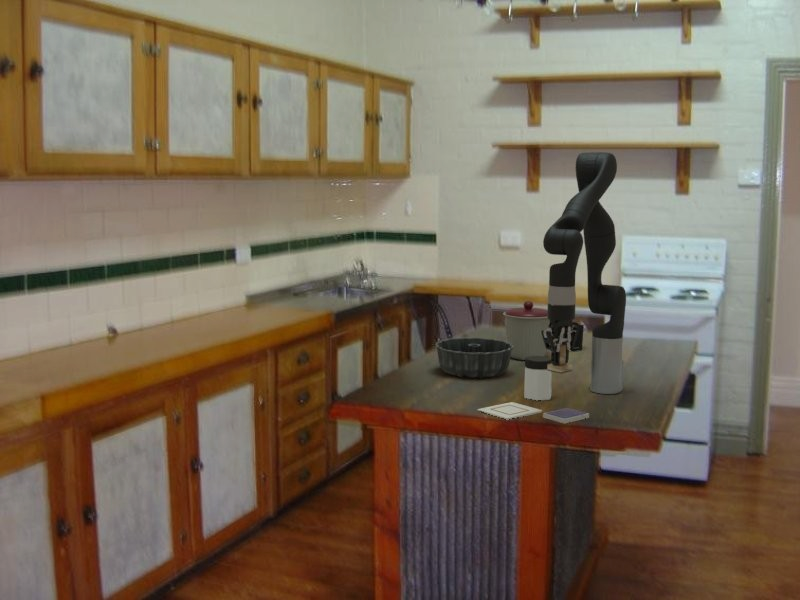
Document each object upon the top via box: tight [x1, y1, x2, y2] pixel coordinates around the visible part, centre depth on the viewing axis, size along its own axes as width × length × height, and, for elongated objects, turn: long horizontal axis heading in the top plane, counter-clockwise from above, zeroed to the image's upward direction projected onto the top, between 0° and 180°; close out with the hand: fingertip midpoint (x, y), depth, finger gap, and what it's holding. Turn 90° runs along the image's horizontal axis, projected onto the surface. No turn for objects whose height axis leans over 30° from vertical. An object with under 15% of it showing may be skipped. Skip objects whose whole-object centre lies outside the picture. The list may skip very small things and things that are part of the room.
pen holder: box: [570, 321, 585, 352], centre depth 358 cm, size 9×9×10 cm
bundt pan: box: [435, 337, 514, 379], centre depth 314 cm, size 26×26×10 cm
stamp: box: [547, 344, 573, 375], centre depth 257 cm, size 5×5×7 cm
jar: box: [523, 356, 553, 402], centre depth 281 cm, size 9×8×12 cm
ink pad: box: [542, 407, 590, 424], centre depth 258 cm, size 10×8×1 cm
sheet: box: [476, 401, 543, 421], centre depth 264 cm, size 14×12×1 cm
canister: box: [502, 300, 550, 361], centre depth 339 cm, size 18×18×21 cm
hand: (559, 363), depth 257 cm, fingers closed on stamp, 3 cm apart
